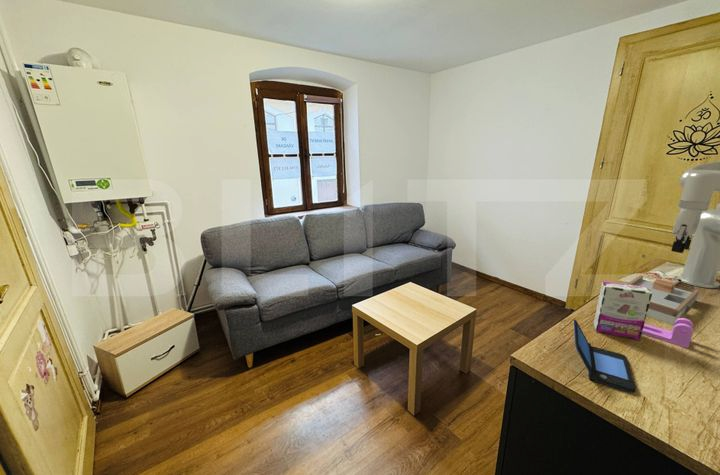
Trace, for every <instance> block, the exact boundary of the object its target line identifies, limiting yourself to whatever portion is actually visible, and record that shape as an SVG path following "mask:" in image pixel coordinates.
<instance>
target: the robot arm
mask: <svg viewBox="0 0 720 475" xmlns="http://www.w3.org/2000/svg"><path fill="white" fill-rule="evenodd" d="M679 185H680V187H681V188H682V192H681V196H680V199H679V202H678V206H677V209H678V210H679V212H678V214H677V217H676V220H675V222H674V225H673V229H672V231H671V233H672V235H676V236H675V238H674V240H673V242H672V243H673V244H672V246H671V250H670V251H671V252H673V253H678V254H679V253H680V254H683V253H684V252H685V250H689V251H688V253H687V254H688V255H687V258H686V261H685V264H684V268H683V269H682V273H681V274H682V277H683V279H681V281H680V282H681V283H685V284H687V285H690V286H693V287H694V286H695V287H699V288H707V289H717V288H719V287H720V282H719V281H718V280H716V279H717V277H718V274H719V271H720V202H719V203H718V204H717V205H716V208H715V209H712V208H711V209H708V208H709V206H710V203H711V200H712V196H713V193H714V192H720V160H718V161H717V160H716V161H713V162H705V163H701V164H697V165H695V166H693V167H691V168H689V169H687V170H686V171H684V173H682V174H681V176H680V178H679Z"/></svg>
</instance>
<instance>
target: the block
mask: <svg viewBox="0 0 720 475" xmlns="http://www.w3.org/2000/svg"><path fill="white" fill-rule="evenodd" d="M653 282H654V284H653V287H652V288H653V289H656V290H660V291H664V292H667V293H671V292H672V291H673V290H674V288H676V284H677V282H674V281H672V280H671V281H670V280H666V279H662V278H657V279H656V280H653Z"/></svg>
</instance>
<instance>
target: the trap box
mask: <svg viewBox="0 0 720 475" xmlns="http://www.w3.org/2000/svg"><path fill="white" fill-rule="evenodd" d="M643 278H644V275H639V276H637V277H636V278H634V279H632V280H631V281H630V282H628V283H627V284H628V285H636V286H643V287H647V288H648V289H649V290H650V291H651V292H652V297H651V300H650V304H649V308H648V312H647V315H646V317H648V318H651V319H655V320H656V321H660V322H663V323H666V324H669V325H672V326H674V324H675V321H676V320H677V319H678V318H682V316H683V315H685V313H686V312H687V311H688V310H689V309H690V308H691V307H692V306H693V305H694V304H695V303H696V301H697V299H698V296H699V293H700V290H699V289H697V288H696V289H694V290H693V291H689V290H684V289H681V288H678V287H675V288H674V290H673V291H672V292H671V293H667V292H664V291H660V290H656V289H653V288H652V287H653V284H654V281H651V280H647V279H643Z"/></svg>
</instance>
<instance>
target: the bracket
mask: <svg viewBox="0 0 720 475" xmlns="http://www.w3.org/2000/svg"><path fill="white" fill-rule="evenodd" d="M642 335H643V336H648V337H650V338H654V339H657V340H660V341H663V342H666V343H670V344H672V345H676V346H679V347H683V348H686V349H688V348H689V345H690V343H691V340H692V338H693V335H694V323H693V322H692V320H690V319H688V318H685V317H680V318H678V319H677V320H676V321H675V323H674V324H673V327H672V330H669V329H664V328H661V327H658V326H654V325H650V324H647V323H644V327H643V331H642Z"/></svg>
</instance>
